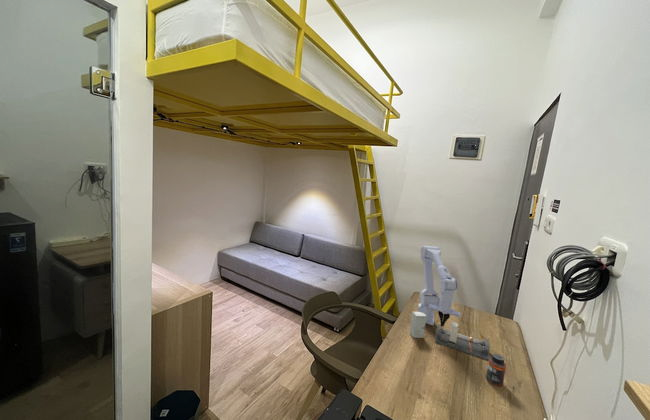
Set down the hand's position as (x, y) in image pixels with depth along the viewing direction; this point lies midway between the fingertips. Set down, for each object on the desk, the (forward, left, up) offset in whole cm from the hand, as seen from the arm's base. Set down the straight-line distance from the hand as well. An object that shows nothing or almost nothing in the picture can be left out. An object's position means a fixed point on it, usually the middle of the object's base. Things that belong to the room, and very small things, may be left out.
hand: (442, 325), depth 127 cm
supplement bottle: (+21, -20, -7) cm, 30 cm away
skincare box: (-11, -5, -7) cm, 14 cm away
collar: (+6, 0, -6) cm, 8 cm away
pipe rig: (+10, 0, -7) cm, 12 cm away
